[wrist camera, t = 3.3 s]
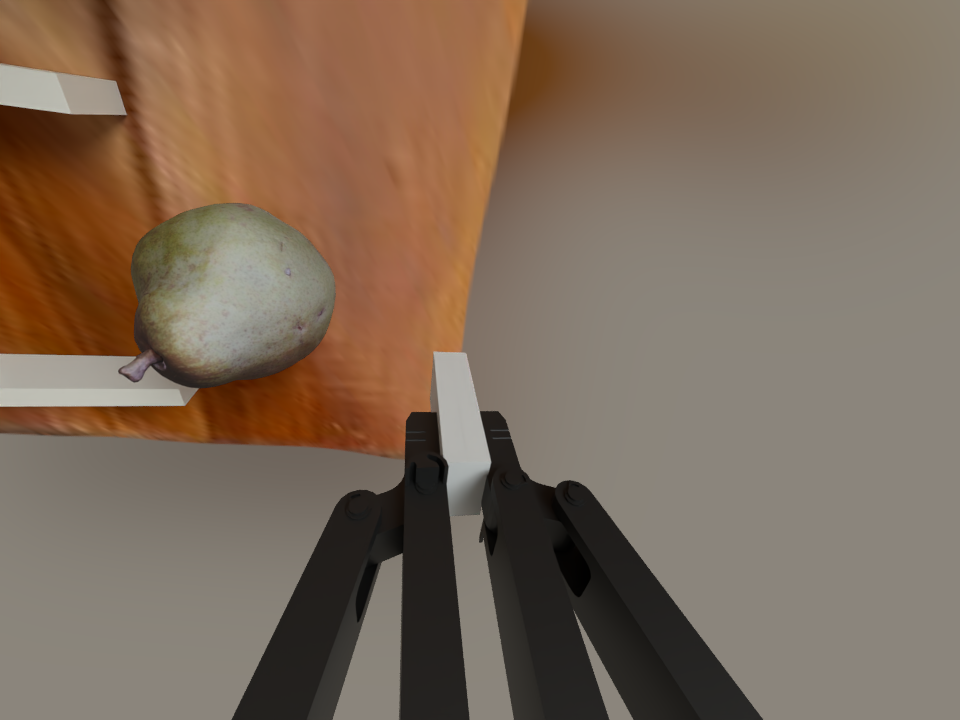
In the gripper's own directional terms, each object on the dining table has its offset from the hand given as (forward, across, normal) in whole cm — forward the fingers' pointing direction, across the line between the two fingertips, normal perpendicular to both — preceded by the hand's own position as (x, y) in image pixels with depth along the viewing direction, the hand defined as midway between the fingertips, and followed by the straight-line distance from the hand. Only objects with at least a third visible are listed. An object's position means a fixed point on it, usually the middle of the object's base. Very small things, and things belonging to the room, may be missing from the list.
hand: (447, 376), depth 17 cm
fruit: (+13, -12, 0) cm, 17 cm away
